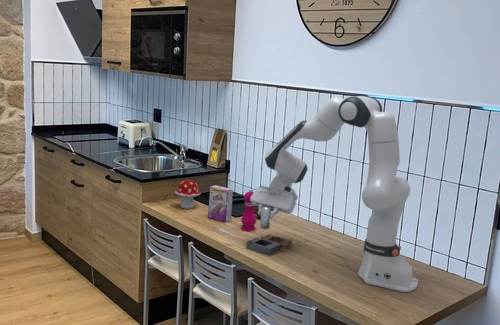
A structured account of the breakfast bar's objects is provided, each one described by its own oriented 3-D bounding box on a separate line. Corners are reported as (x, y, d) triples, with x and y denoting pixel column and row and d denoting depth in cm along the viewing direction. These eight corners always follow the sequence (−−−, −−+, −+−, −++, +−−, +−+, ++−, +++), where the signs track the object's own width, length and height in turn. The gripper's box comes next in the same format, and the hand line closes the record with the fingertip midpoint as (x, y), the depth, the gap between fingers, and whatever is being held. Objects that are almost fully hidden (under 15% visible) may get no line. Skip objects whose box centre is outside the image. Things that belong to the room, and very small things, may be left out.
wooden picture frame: (291, 244, 227) (292, 240, 227) (282, 249, 220) (282, 245, 220) (269, 238, 234) (269, 234, 233) (258, 242, 227) (259, 238, 226)
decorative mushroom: (205, 206, 277) (206, 179, 274) (191, 212, 264) (193, 184, 261) (183, 202, 282) (184, 175, 279) (169, 208, 270) (170, 180, 267)
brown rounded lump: (263, 221, 258) (264, 206, 256) (249, 216, 264) (250, 201, 263) (272, 219, 263) (273, 204, 262) (258, 214, 270) (259, 199, 268)
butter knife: (221, 228, 243) (216, 229, 241) (255, 243, 225) (250, 244, 223) (221, 229, 243) (216, 230, 241) (255, 244, 225) (250, 245, 223)
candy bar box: (207, 218, 257) (209, 186, 254) (213, 216, 261) (215, 184, 258) (225, 223, 251) (227, 190, 248) (231, 220, 255) (233, 189, 252)
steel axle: (271, 227, 218) (272, 207, 216) (266, 229, 214) (267, 209, 213) (263, 225, 220) (264, 205, 218) (258, 227, 217) (259, 206, 215)
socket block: (280, 250, 219) (280, 243, 218) (269, 255, 212) (270, 249, 212) (256, 243, 226) (257, 237, 225) (246, 248, 219) (246, 241, 218)
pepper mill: (254, 232, 240) (257, 191, 236) (239, 230, 241) (241, 189, 237) (257, 228, 247) (260, 187, 243) (242, 226, 248) (245, 186, 244)
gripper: (256, 181, 225) (242, 206, 219) (296, 190, 214) (282, 217, 208) (261, 189, 230) (247, 214, 223) (301, 198, 218) (287, 225, 212)
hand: (264, 216), depth 216 cm, fingers closed on steel axle, 4 cm apart
